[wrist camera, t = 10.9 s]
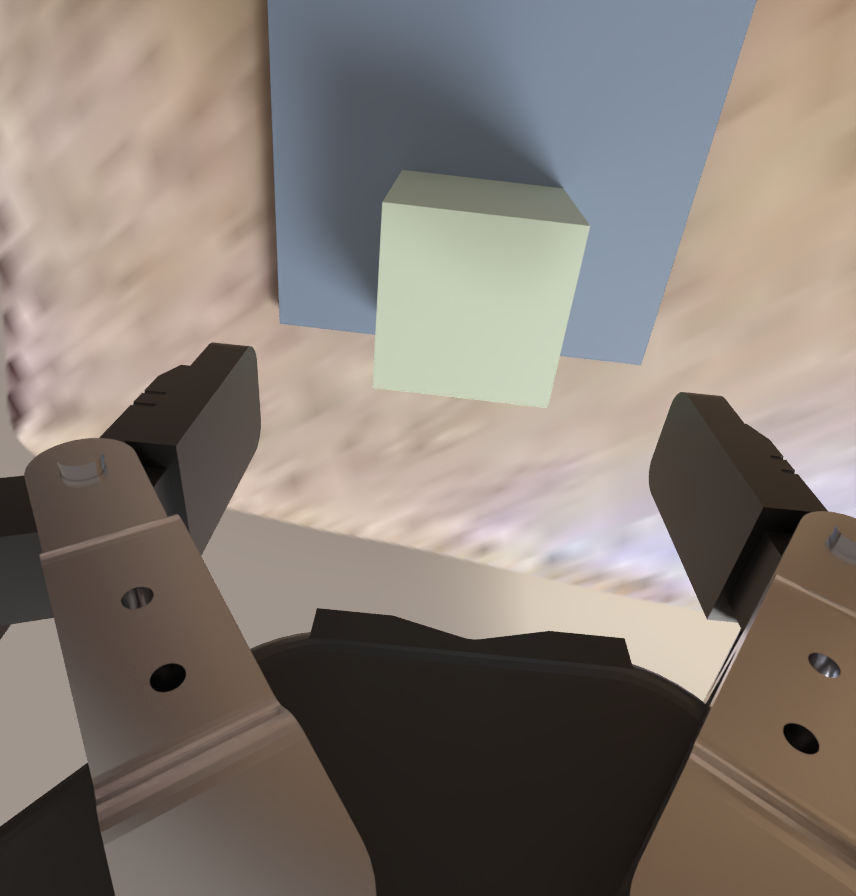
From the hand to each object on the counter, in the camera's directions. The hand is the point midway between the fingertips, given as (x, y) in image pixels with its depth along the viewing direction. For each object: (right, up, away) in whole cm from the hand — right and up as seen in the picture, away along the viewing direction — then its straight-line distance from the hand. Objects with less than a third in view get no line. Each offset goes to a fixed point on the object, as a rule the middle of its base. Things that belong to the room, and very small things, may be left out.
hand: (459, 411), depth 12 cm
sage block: (+1, +5, +8) cm, 10 cm away
